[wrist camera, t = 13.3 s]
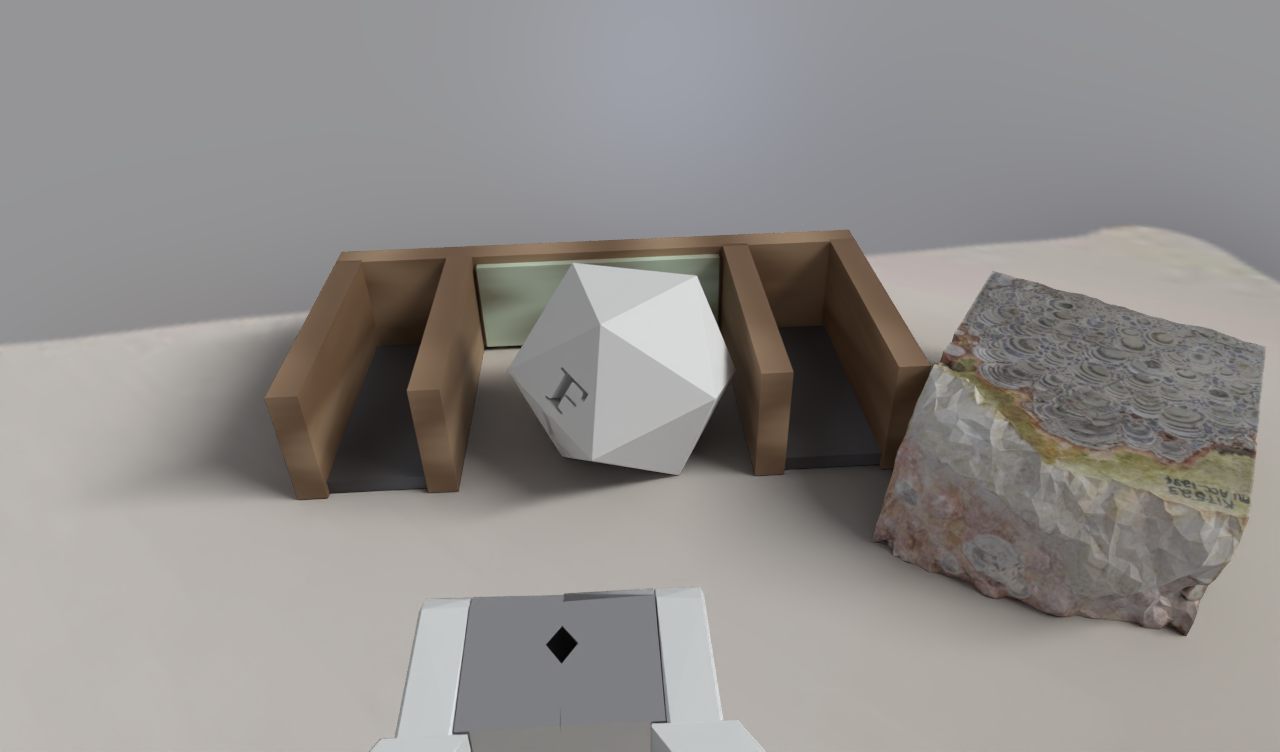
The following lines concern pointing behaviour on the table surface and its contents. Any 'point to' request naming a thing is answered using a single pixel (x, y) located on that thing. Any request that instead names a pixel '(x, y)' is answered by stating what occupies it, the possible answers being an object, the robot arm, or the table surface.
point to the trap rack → (510, 307)
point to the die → (625, 367)
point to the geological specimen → (1079, 457)
